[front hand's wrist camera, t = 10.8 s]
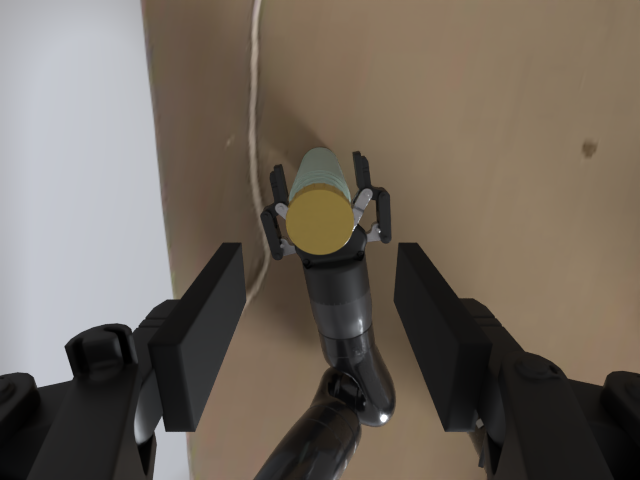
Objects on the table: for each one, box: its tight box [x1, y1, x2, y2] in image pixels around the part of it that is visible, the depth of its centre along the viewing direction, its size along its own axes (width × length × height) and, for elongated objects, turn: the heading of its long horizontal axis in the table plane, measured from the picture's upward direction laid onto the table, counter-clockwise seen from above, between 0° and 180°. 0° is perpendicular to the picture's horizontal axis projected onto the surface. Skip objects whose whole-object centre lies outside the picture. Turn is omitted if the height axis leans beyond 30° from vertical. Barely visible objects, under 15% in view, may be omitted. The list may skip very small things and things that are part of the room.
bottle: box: [289, 147, 351, 203], centre depth 32 cm, size 5×5×24 cm
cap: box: [285, 183, 354, 255], centre depth 22 cm, size 4×4×2 cm
